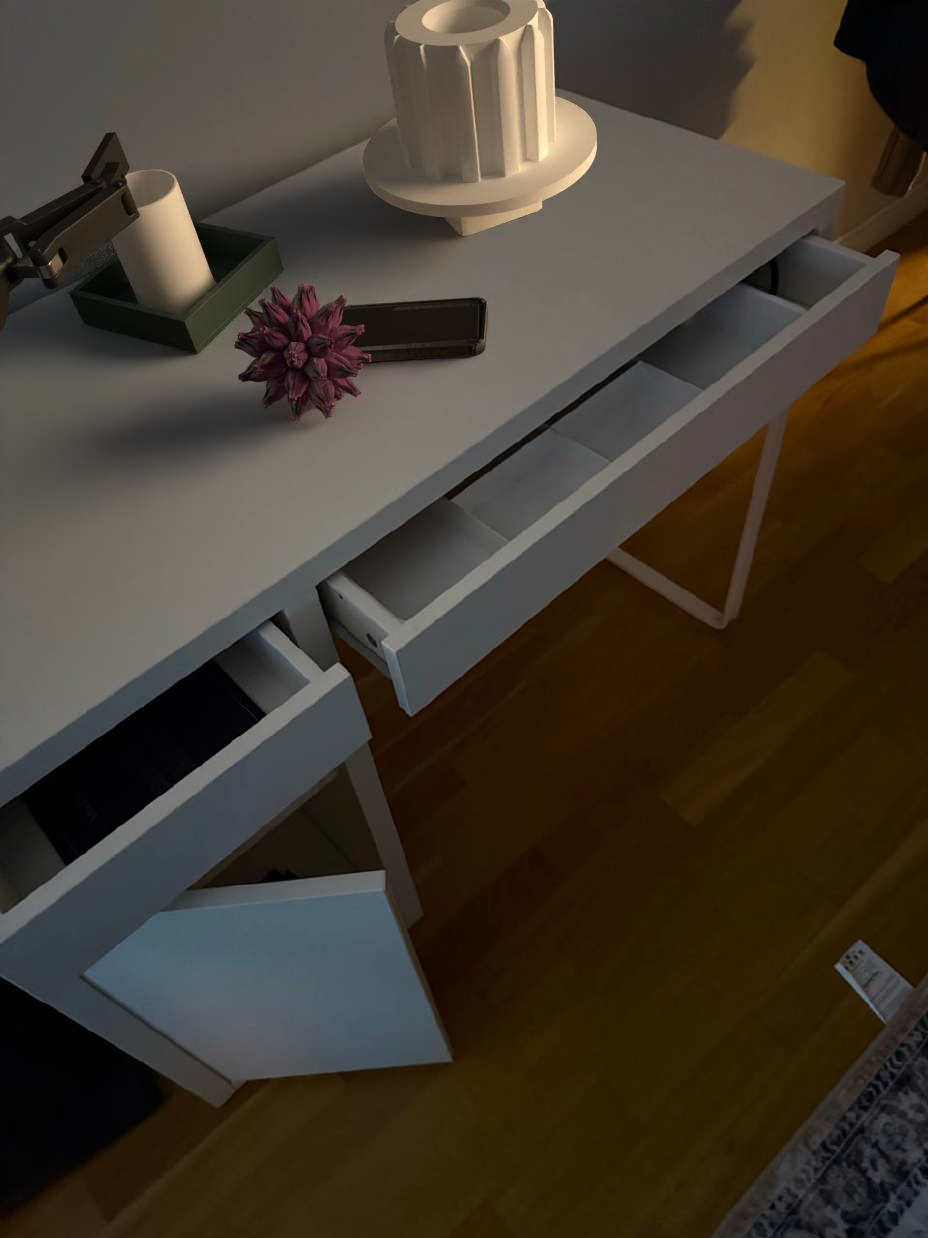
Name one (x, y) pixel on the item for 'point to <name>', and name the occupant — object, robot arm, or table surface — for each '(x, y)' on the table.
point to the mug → (162, 246)
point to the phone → (419, 328)
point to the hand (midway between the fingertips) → (35, 157)
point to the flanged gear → (476, 115)
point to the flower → (302, 351)
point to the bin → (240, 278)
